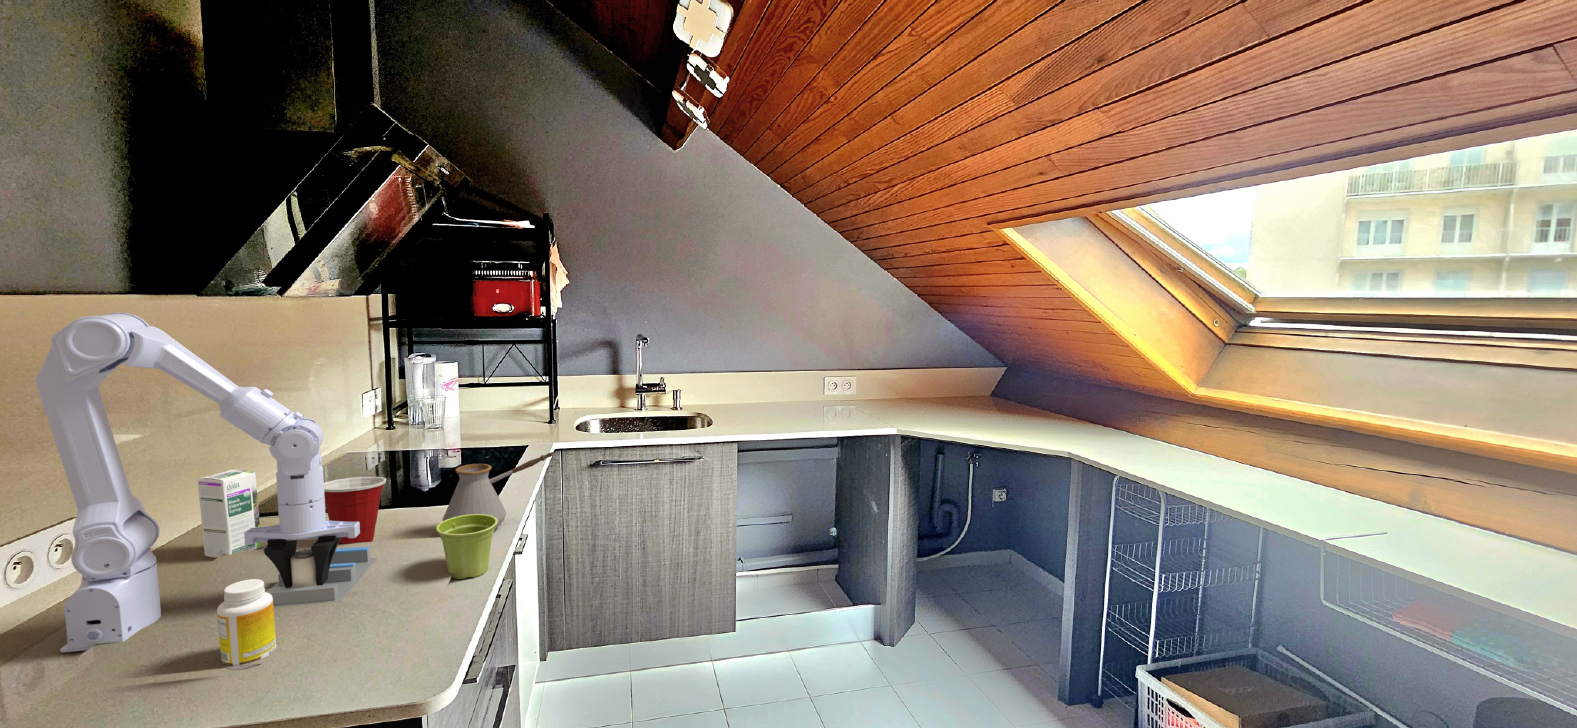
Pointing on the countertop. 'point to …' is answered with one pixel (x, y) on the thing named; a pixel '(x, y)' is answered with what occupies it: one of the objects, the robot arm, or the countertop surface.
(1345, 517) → the countertop surface
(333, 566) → the grey and blue rack
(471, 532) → the plant pot
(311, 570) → the grey-capped cream cylinder
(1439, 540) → the countertop surface
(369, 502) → the plastic cup
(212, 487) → the syrup box
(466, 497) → the coffee pot
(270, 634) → the supplement bottle
